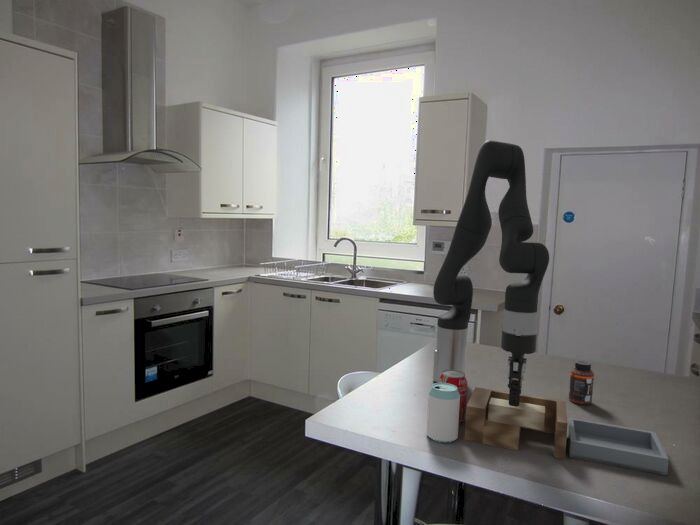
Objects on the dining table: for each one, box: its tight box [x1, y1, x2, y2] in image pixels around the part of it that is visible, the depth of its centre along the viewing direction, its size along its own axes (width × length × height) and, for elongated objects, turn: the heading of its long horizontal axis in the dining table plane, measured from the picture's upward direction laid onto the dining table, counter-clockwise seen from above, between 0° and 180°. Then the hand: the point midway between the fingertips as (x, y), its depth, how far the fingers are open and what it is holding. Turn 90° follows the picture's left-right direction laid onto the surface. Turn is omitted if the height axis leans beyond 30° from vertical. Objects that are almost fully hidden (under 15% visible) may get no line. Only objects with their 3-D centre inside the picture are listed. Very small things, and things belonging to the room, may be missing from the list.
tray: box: [567, 417, 670, 477], centre depth 109 cm, size 18×14×4 cm
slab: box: [488, 398, 545, 431], centre depth 113 cm, size 12×4×4 cm, turn 68°
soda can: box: [439, 370, 468, 424], centre depth 123 cm, size 7×7×12 cm
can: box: [426, 382, 460, 443], centre depth 112 cm, size 7×7×12 cm
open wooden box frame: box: [464, 386, 568, 460], centre depth 114 cm, size 21×14×8 cm, turn 68°
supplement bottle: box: [568, 360, 595, 406], centre depth 139 cm, size 6×6×11 cm
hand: (515, 399), depth 113 cm, fingers open, 8 cm apart
